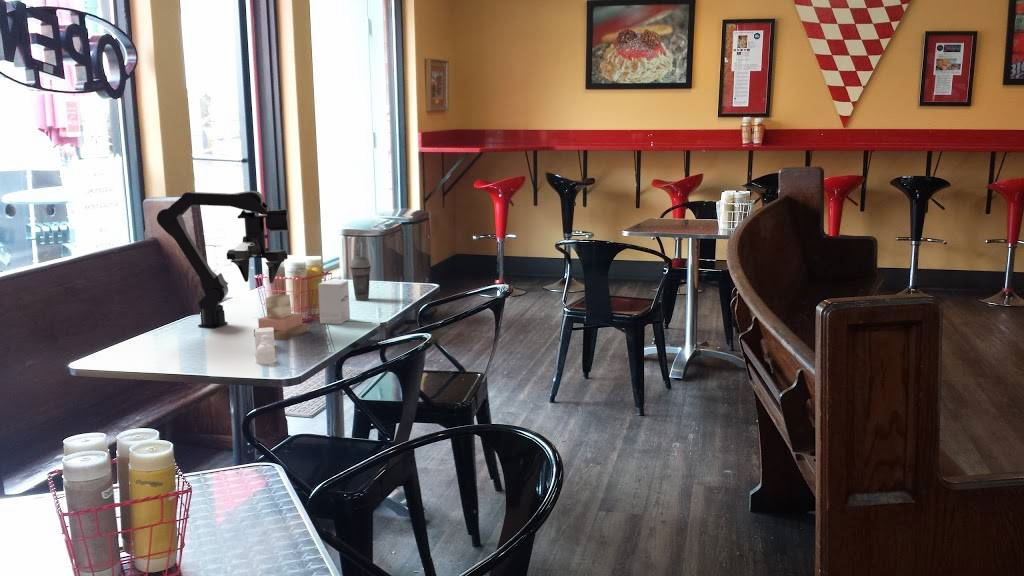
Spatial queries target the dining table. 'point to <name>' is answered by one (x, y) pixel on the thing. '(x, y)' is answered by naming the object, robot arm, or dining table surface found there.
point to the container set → (265, 345)
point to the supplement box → (334, 301)
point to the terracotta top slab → (281, 322)
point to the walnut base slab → (290, 332)
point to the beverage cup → (360, 276)
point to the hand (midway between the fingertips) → (258, 282)
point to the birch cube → (278, 306)
